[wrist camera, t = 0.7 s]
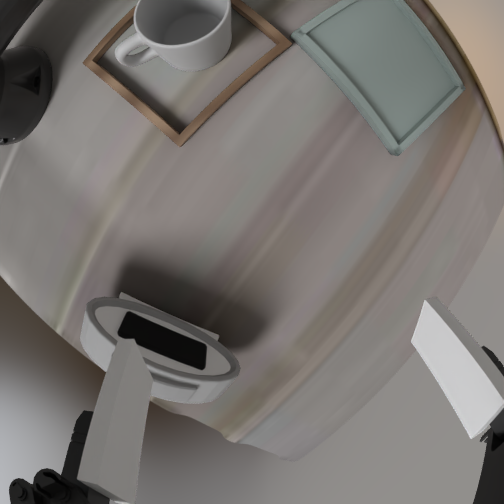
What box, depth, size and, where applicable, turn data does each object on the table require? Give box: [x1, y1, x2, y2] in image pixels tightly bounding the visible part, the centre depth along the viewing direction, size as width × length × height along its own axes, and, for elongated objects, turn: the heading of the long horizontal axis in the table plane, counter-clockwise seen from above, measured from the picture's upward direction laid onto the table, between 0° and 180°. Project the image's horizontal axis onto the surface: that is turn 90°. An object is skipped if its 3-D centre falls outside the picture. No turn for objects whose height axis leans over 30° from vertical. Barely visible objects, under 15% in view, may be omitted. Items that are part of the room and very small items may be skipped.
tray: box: [290, 0, 466, 156], centre depth 26 cm, size 20×18×2 cm
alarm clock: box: [80, 292, 240, 403], centre depth 36 cm, size 23×6×13 cm, turn 60°
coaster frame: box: [83, 0, 292, 147], centre depth 25 cm, size 18×18×2 cm
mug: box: [115, 0, 232, 71], centre depth 21 cm, size 12×8×11 cm
